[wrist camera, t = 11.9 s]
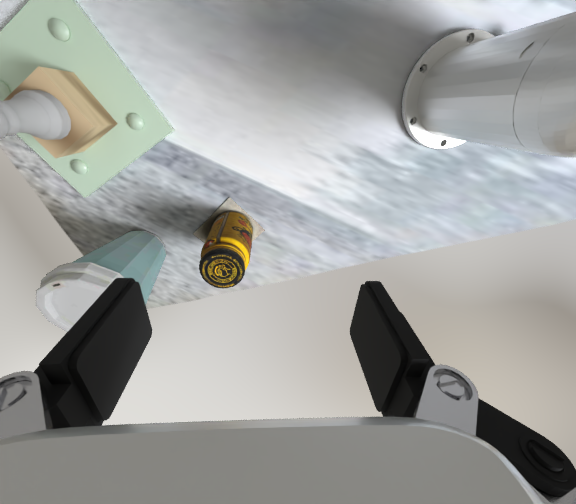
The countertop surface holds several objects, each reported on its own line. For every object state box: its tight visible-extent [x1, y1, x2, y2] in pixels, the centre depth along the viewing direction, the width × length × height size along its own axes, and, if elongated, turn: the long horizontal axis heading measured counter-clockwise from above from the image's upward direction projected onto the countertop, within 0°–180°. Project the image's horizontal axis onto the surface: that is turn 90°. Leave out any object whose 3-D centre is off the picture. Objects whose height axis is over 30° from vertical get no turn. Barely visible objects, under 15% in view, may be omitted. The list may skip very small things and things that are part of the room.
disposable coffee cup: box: [36, 231, 166, 332], centre depth 34 cm, size 11×11×15 cm
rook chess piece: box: [0, 90, 71, 140], centre depth 23 cm, size 4×4×8 cm
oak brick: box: [3, 66, 118, 158], centre depth 28 cm, size 6×6×5 cm
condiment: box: [193, 197, 265, 288], centre depth 35 cm, size 7×8×12 cm
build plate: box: [0, 0, 175, 198], centre depth 30 cm, size 16×16×1 cm
